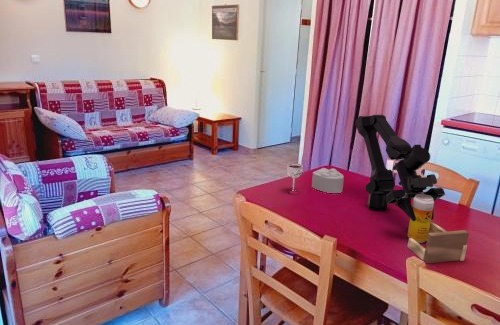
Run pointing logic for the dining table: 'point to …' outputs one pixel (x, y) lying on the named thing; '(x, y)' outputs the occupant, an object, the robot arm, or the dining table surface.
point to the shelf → (441, 245)
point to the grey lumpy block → (328, 180)
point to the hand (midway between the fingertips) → (423, 220)
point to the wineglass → (294, 171)
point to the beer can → (421, 217)
